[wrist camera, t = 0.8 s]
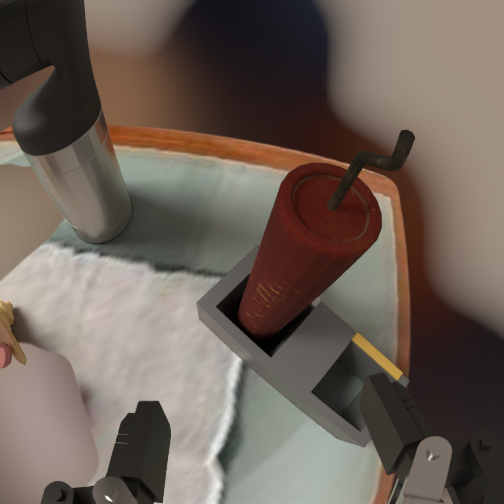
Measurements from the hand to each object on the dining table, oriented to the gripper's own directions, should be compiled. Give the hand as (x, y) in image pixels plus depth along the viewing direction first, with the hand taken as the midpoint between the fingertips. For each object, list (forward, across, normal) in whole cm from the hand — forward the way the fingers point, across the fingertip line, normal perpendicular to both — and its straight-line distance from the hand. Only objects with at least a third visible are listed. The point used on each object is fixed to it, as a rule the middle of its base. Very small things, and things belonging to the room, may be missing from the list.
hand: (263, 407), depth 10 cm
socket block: (+19, -4, +14) cm, 24 cm away
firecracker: (+22, 0, +11) cm, 25 cm away
